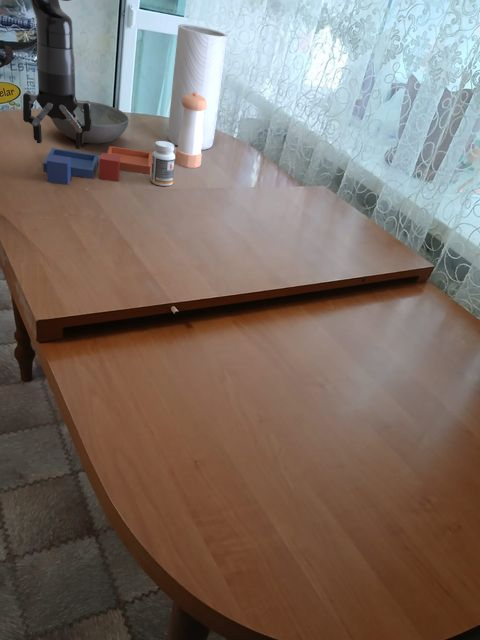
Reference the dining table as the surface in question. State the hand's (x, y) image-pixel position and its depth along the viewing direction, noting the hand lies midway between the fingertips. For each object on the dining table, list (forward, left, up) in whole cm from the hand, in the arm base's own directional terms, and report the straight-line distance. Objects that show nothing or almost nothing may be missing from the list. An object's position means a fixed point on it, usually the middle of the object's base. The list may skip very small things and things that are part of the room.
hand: (58, 145), depth 125 cm
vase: (+32, +44, -8) cm, 55 cm away
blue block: (0, 0, -8) cm, 8 cm away
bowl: (+3, +32, -8) cm, 34 cm away
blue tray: (+1, +9, -8) cm, 12 cm away
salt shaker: (+31, +25, -8) cm, 41 cm away
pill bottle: (+24, +7, -8) cm, 26 cm away
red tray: (+15, +18, -8) cm, 25 cm away
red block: (+11, +6, -8) cm, 15 cm away
